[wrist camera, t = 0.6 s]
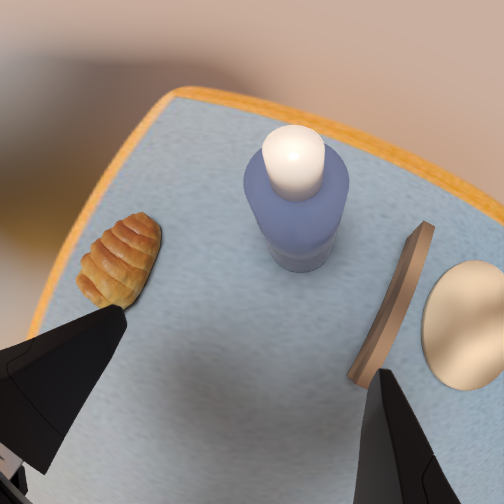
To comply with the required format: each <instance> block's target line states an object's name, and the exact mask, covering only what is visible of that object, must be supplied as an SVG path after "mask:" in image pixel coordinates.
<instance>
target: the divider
mask: <svg viewBox="0 0 504 504" xmlns="http://www.w3.org/2000/svg"><path fill="white" fill-rule="evenodd" d="M434 229H435V226H433V225H431V224H429V223H427V222H425V221H423V222H422V223H421V224H420V225H419V226H418V227H417V228H416V229H415V230H414V231H413V233H412V234H411V235H410V236H409V237H408V238H407V240H406V243H405V246H404V248H403V251H402V254H401V257H400V260H399V262H398V265H397V268H396V270H395V273H394V276H393V278H392V281H391V283H390V286H389V288H388V291H387V293H386V295H385V298H384V300H383V303H382V305H381V307H380V310H379V312H378V314H377V316H376V319H375V321H374V323H373V325H372V327H371V329H370V332H369V334H368V336H367V338H366V340H365V342H364V344H363V346H362V348H361V350H360V352H359V354H358V356H357V358H356V360H355V362H354V364H353V366H352V367H351V369H350V371H349V373H348V375H347V376H348V377H349V378H350V379H351V380H352V381H353V382H354V383H355V384H356V385H359V386H361V387H363V388H365V389H368V387H369V384H370V382H371V380H372V378H373V376H374V375H375V373H376V371H377V370H378V369H379V368H381V367H382V365H383V363H384V361H385V359H386V357H387V355H388V352H389V350H390V348H391V346H392V344H393V342H394V340H395V337H396V335H397V333H398V331H399V328H400V326H401V324H402V321H403V319H404V317H405V314H406V312H407V309H408V307H409V304H410V302H411V299H412V297H413V294H414V291H415V289H416V286H417V283H418V280H419V277H420V274H421V272H422V269H423V266H424V262H425V259H426V256H427V253H428V250H429V246H430V243H431V240H432V236H433V233H434Z"/></svg>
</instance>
